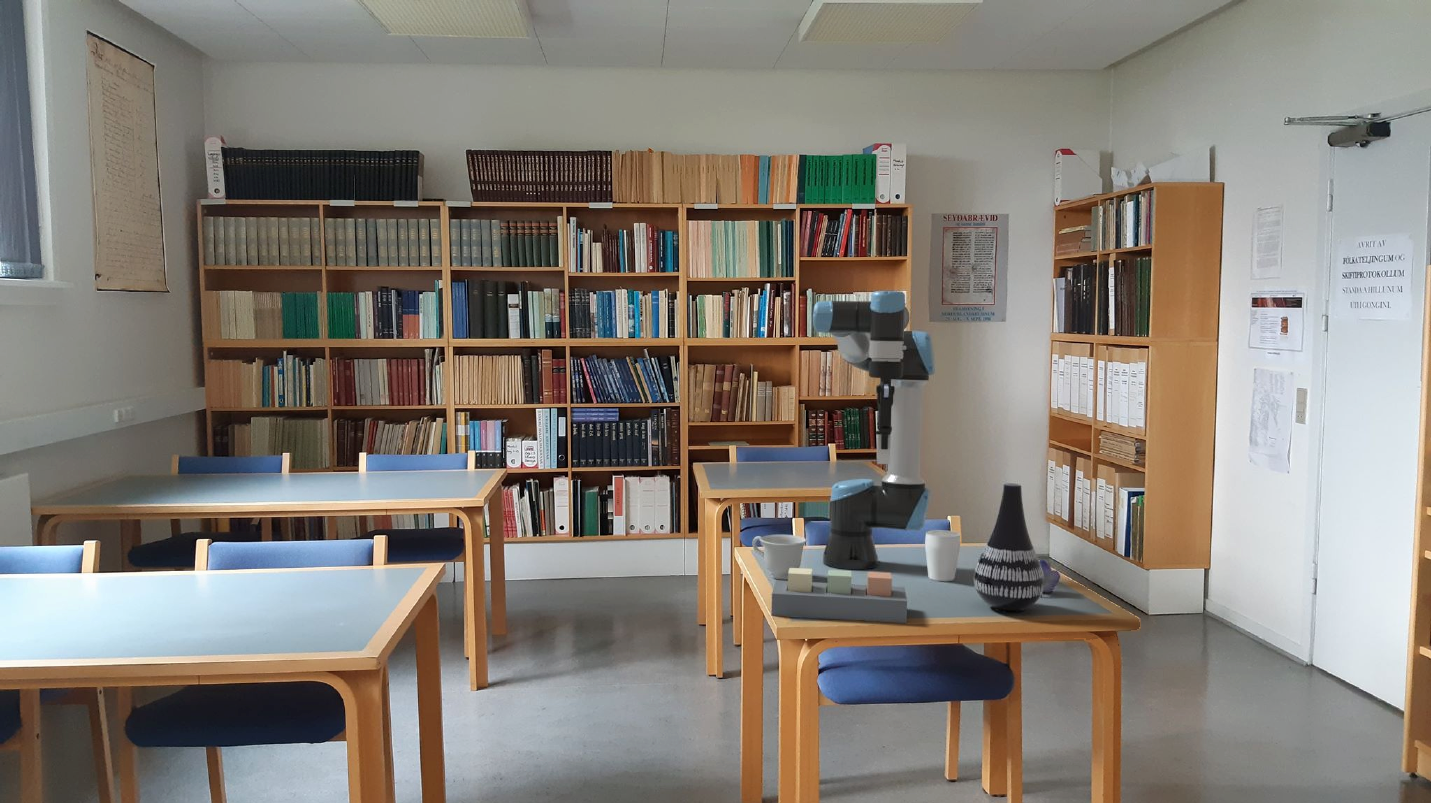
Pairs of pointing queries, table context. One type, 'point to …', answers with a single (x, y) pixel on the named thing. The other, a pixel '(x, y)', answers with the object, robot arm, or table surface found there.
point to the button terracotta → (879, 584)
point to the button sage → (839, 582)
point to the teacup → (780, 553)
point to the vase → (1009, 559)
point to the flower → (1049, 576)
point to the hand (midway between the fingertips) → (883, 461)
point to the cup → (942, 554)
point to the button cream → (800, 580)
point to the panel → (839, 603)
